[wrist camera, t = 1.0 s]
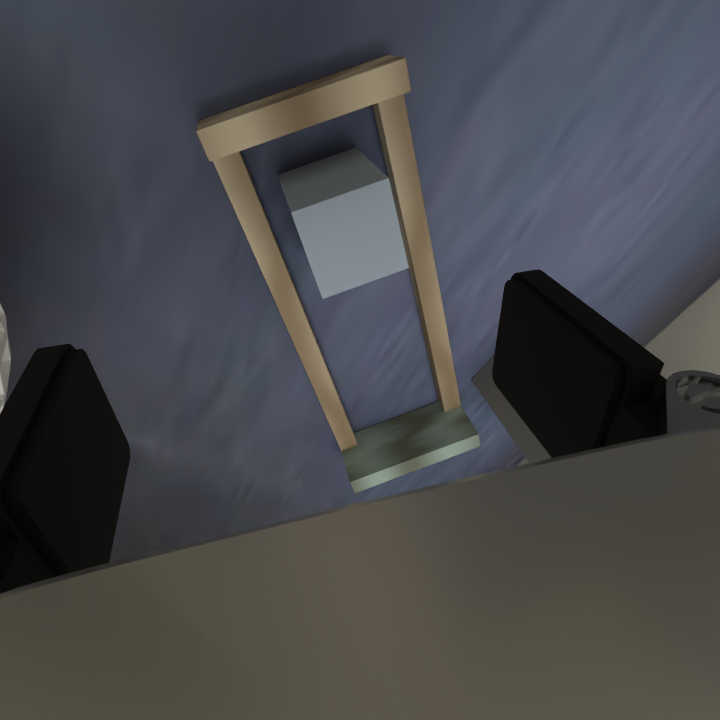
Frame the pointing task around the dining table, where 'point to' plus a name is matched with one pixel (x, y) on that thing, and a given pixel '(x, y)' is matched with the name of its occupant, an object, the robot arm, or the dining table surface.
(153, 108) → the dining table surface
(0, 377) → the heart
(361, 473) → the track
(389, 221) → the grey rectangular block
